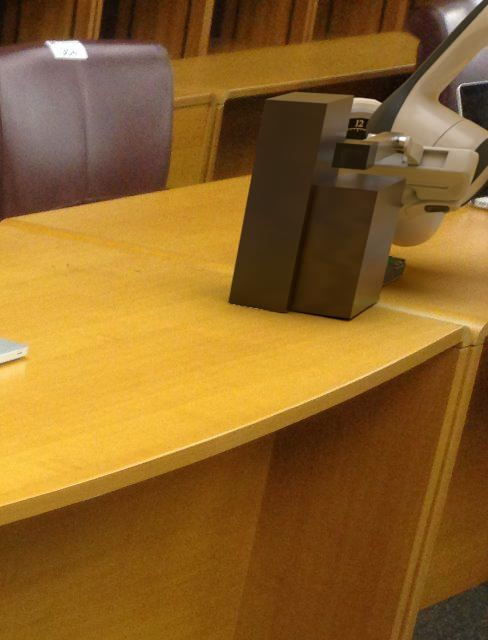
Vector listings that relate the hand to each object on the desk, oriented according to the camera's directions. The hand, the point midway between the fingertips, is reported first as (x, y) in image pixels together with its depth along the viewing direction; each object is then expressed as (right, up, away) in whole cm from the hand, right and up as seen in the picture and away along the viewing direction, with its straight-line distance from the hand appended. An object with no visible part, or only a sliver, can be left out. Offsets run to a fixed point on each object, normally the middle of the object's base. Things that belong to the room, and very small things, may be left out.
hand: (387, 140), depth 202 cm
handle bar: (-5, -4, -4) cm, 7 cm away
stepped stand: (-9, -20, +5) cm, 22 cm away
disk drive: (+3, -13, +20) cm, 24 cm away
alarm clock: (+19, +4, +54) cm, 57 cm away
